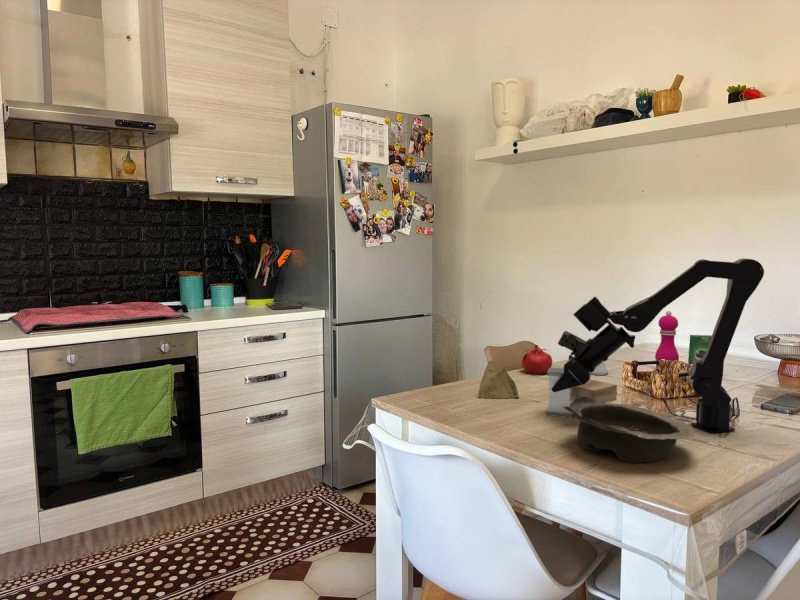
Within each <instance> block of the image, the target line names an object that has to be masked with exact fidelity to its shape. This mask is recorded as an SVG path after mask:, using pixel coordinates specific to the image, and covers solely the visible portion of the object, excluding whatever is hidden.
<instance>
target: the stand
mask: <svg viewBox="0 0 800 600" xmlns="http://www.w3.org/2000/svg"><path fill="white" fill-rule="evenodd" d="M617 390H618V385H617V384H614V383H608V382H603V381H600V380H599V381H598V380H594V379H590V380H589V381H588V382H587V383H585V384H584V385H583V384H582V385H581V386H580V385H579V386H575V387H572V398H571V401H575V399H576V398H581V397H584V396H585V397H587V398H592V399H593V400H595V401H597V402H599V403H602V404H604V403H609V402H613V401H616V400H617Z"/></svg>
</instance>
